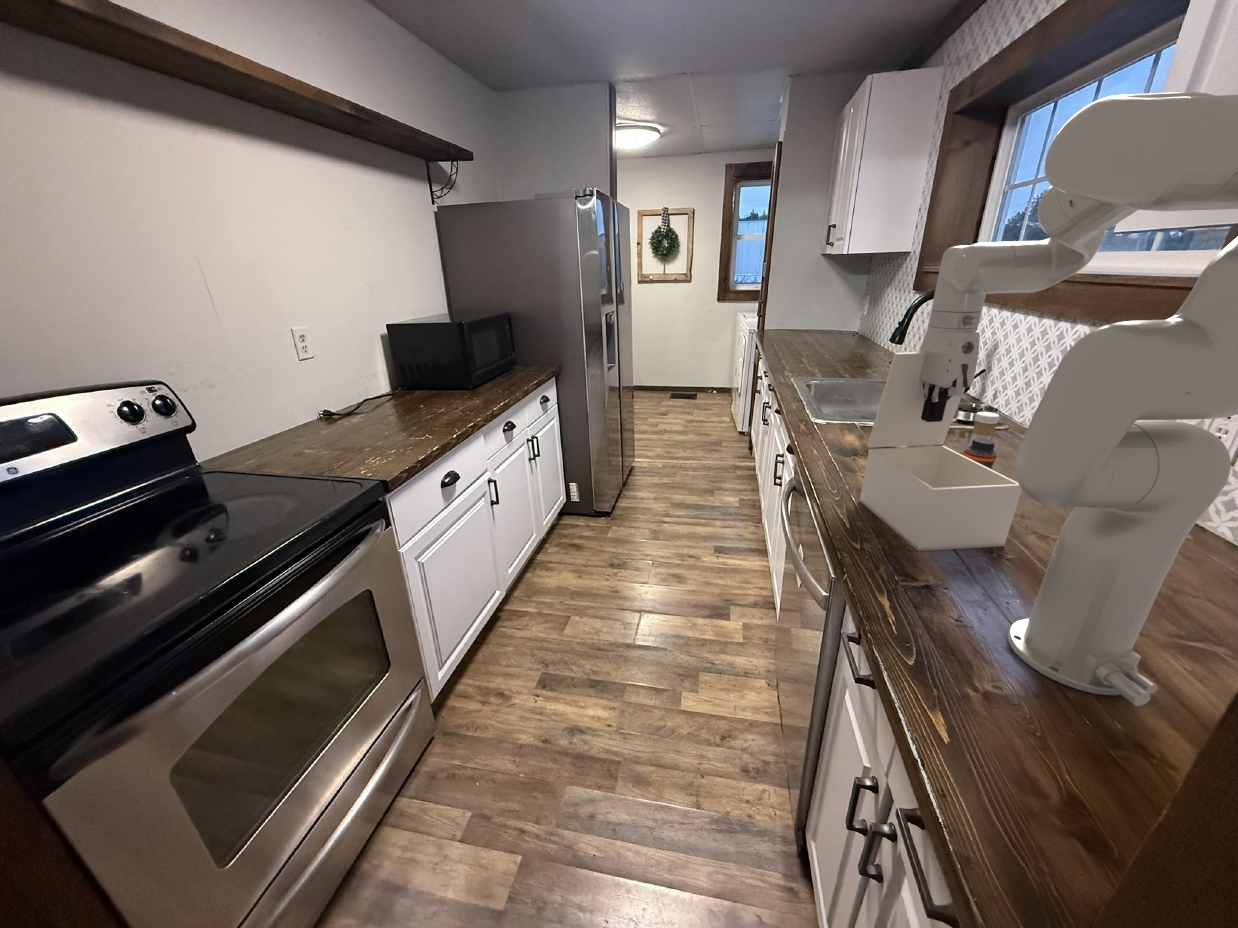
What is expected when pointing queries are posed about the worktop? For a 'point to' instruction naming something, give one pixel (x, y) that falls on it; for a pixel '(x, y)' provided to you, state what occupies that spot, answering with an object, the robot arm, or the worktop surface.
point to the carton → (939, 497)
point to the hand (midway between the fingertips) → (931, 420)
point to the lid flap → (908, 407)
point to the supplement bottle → (982, 452)
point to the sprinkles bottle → (984, 425)
